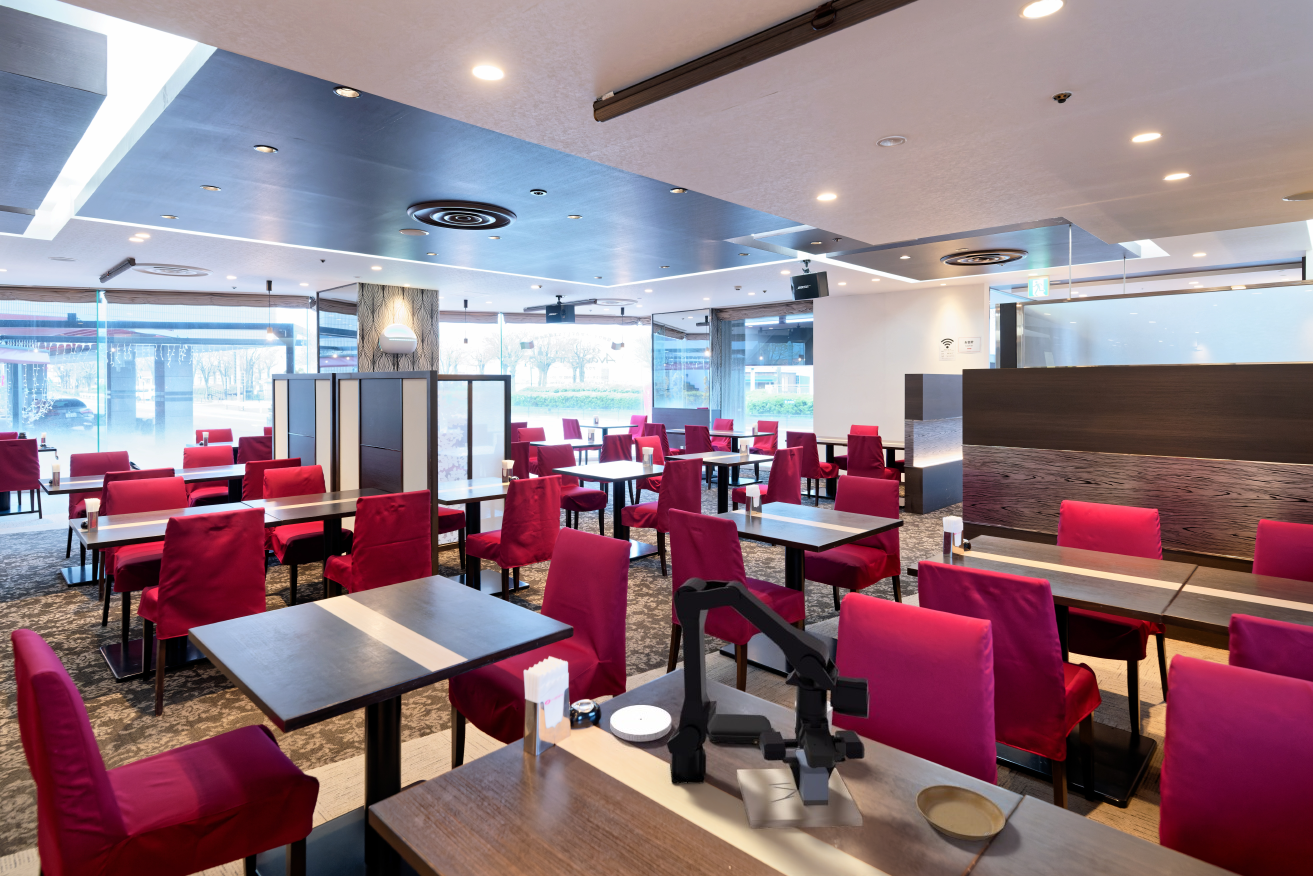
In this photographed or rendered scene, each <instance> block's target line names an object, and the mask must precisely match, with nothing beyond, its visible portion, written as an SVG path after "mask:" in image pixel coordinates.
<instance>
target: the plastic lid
mask: <svg viewBox="0 0 1313 876" xmlns="http://www.w3.org/2000/svg"><path fill="white" fill-rule="evenodd" d="M609 721H610V723H609V727H610V731H611V733H612V734H613V735H615V736H616V737H617V738H618V737H619V738H621V739H623V740H625V741H630V742H639V743H641V742H649V741H655V740H658V739H660V738H663V737H666V735H667V734H669V732H671V730H672V716H671V715H670V713H669V712H667V710H665V709H663V708H660V707H657V706H653V705H643V704H641V705H640V704H638V705H637V704H636V705H630V706H629V705H628V706H626V707H623V708H620V709H618V710H616V711H614V712H613V714H612V715H611V716H610V719H609Z"/></svg>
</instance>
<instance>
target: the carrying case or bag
mask: <svg viewBox="0 0 1313 876" xmlns="http://www.w3.org/2000/svg"><path fill="white" fill-rule="evenodd" d="M716 715H717V717H718V720H717V722H716V723H715V725H714V727H713V729H712V731H711V732H710V734H709V735H708V737H707V739H708V738H709V740H710V741H711V742H713V741H714V743H726V742H734V743H735V744H753V745H759V736H760V735H761V733H762V732H773V729H772V723H771V721H770V720H769V719H768V718H767V716H765V715H763V714H741V713H740V714H739V713H738V714H737V713H716ZM734 743H733V744H734Z"/></svg>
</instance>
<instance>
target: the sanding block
mask: <svg viewBox="0 0 1313 876" xmlns="http://www.w3.org/2000/svg"><path fill="white" fill-rule="evenodd" d="M796 756H797V758H798V761H799V764H798V770H799V781H800V786H799V790H798V793H799V795H800V797H801V800H802V802H803V805H828V787H829V773H828V771H827V769H826V767H817V768H811V767H809V766H808V764H807V760H806V756H805V753H804V751H799V750H796ZM794 783H795V782H794Z"/></svg>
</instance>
